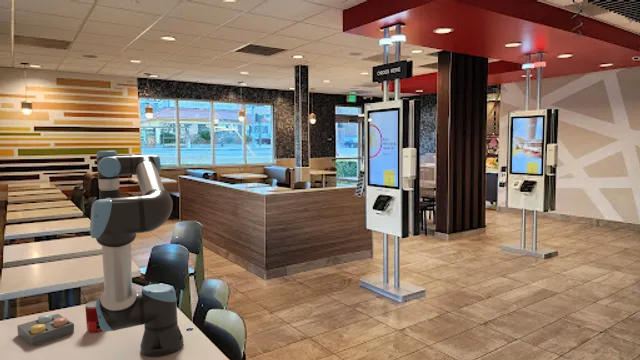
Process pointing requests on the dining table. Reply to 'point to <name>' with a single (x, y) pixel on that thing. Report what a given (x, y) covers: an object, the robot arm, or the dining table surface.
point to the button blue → (44, 318)
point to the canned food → (92, 318)
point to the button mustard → (37, 329)
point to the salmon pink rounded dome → (60, 322)
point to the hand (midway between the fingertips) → (113, 246)
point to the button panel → (49, 334)
